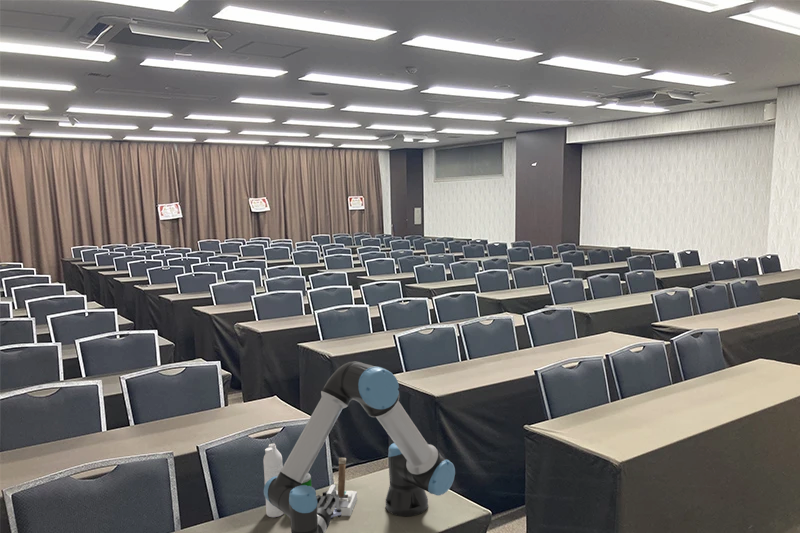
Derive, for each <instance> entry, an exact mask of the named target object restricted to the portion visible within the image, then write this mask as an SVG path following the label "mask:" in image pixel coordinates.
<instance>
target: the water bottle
mask: <svg viewBox="0 0 800 533" xmlns="http://www.w3.org/2000/svg"><path fill="white" fill-rule="evenodd" d="M264 452H265V454H264V456H263V461H262V462H263V472H264V473H263V474H264V476H263V477H264V485H265V484H266V482H267V481H268V480H270V479H271V478H272V477H275V476H278V475H279V473H280V471H281V469H282V468H283V466H284V465H283V456H282V453H281V452H280V451H279V450H278V449H277V445H276V443H274V442H273V443H269V444H268V447H266V448H265V449H264ZM265 510H266V512H265V513H266V516H267V517H269V518H276V517H282V516H283V515H284V514H285V513H283V512H282V511H281V510H279V509H278V508H277V507H275V506H273V505H272V504H271V503H270V502H269V501H268V500H267V499H266V498H265Z"/></svg>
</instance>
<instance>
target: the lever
mask: <svg viewBox="0 0 800 533" xmlns="http://www.w3.org/2000/svg"><path fill="white" fill-rule="evenodd" d="M346 465H347V458H346V457H338V479H337V480H338V481H337V490H338V494H337V495H338V496H339V498H348V495H344V493H345V491H346V490H345V489H346V488H345V487H346V467H347V466H346Z"/></svg>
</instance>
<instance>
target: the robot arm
mask: <svg viewBox="0 0 800 533" xmlns="http://www.w3.org/2000/svg"><path fill="white" fill-rule="evenodd" d="M399 389H400V385H399V381H398V379H397V377H396V376H395V375H394V374H393V372H391V371H389V370H388V369H386V368H384V367H381V366H374V365H372V364H367V363H363V362H361V361H355V360H354V361H353V360H352V361H348V362H346V363H344V364H343V365H341V366H339V367H338V368H337V369H336V370H335V371H334V372H333V373H332V374H331V376H330V377H329V378H328V379H327V381H326V383H325V385H324V386H323V387H322V390H321V391H320V394H321V397H320V400H319V401H318V403H317V405H316V407H315V409H314V410H313V412H312V414H311V416H310V418H309V419H308V421H307V423H306V424H305V426H304V428H303V430H302V432H301V434H300V435H299V437H298V439H297V441H296V442H295V444H294V446H293V448H292V450H291V452H290V454H289V455H288V457H287V459H286V460H285V462H284V463H283V465H282V466H283V468H282V469H281V471H280V473H279V475H278V476H275V477H272V478H271V479H270V480H268V481H267V482H266V484H265V483H264V487H263V496H264V498H265V500H266V499H267V500H268V501H269V502H270V503H271V504H272V505H273V506H275V507H277V508H278V509H279V510H281V511H282V512H283V513H284V514H285V515H286V516H287V517H288V518H289V519H290V531H291V533H326V532H327V530H328V528H329V526H330V524H331V521H332V520H333V519H334V517H337V518H342V516H341V508H340V507H339V496H338V495H337V493H336V490H337V485H336V484H331V485H330V486H329V489H328V490H326V491H323V492H322V495H321V494H318V495H317V493H316V489H315V487H313V486H312V485H311V486H307V485H301V484H302V482H303V481H304V479H305V477H306V475H307V473H309V471H310V469H311V468H312V466H313V464H314V462H315V460H316V458H317V457H318V455H319V453H320V451H321V449H322V447H323V446H324V444H325V441H326V439H327V438H328V437H329V434H330V433H331V431H332V429H333V427H334V425H335V423H336V422H337V420H338V418H339V416H340V414H341V412H342V410H343V409H345V408H346V409H347V407H349V405H350V402H352V401H356V402H357V403H359V404H360V405H361V407H362V408H363V409H364V411H365V412H366V414H367V416H369V417H371V418H376V419H377V421H378V422H379V424H380V425H381V426H382V427H383V429H384V430H385V432H386V433H387V435H388V436H389V437H390V439H391V440H392V443H391V444H390V445H389V446H388V452H387V453H388V455H387V457H388V472H389V473H388V476H389V477H388V478H389V485H388V490H387V494H386V497H385V508H386V511H388V512H389V513H390V514H392V515H394V516H399V517H412V516H417V515H420V514H422V513H424V512H425V511H427V509H428V507H429V501H428V500H429V499H428V494H427V493H426V492H428V493H429V494H431V495H434V496H442V495H444V494H446V493H447V492H448V491H449V490H450V489H451V487H452V485H453V483H454V480H455V475H456V468H455V465H454V463H453V462H451V461H450V460H449V459H445V458H444V457H443V456H442V455H441V453H440V452H439V450H438V449H437V448H436V446H434V445H433V444H431V443H430V444H429V443H428V442H427V441H426V440H425V438H424V437H423V435H422V433H421V432H420V431H419V429H418V427H417V426H416V425H415V423H414V422H413V420H412V419H411V417H410V415H409V414H408V413H407V412H406V410H405V409H404V407H403V405H402V404H401V403H400V401H399V400H400V391H399ZM334 502H335V503H334ZM333 504H335V510H334V512H332V511H331V508H332V506H333Z"/></svg>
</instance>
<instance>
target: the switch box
mask: <svg viewBox="0 0 800 533" xmlns="http://www.w3.org/2000/svg"><path fill="white" fill-rule="evenodd" d="M336 493H337V494H338V489H336ZM344 495H348V498H339V507H340V508H341V517H351V515H352V513H353V510H354V508H355V506H356V503H357V500H358V491H356V490H345V493H344ZM334 503H335V502H334ZM334 510H335V504H333V506H332V508H331V511H332V512H334Z"/></svg>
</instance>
